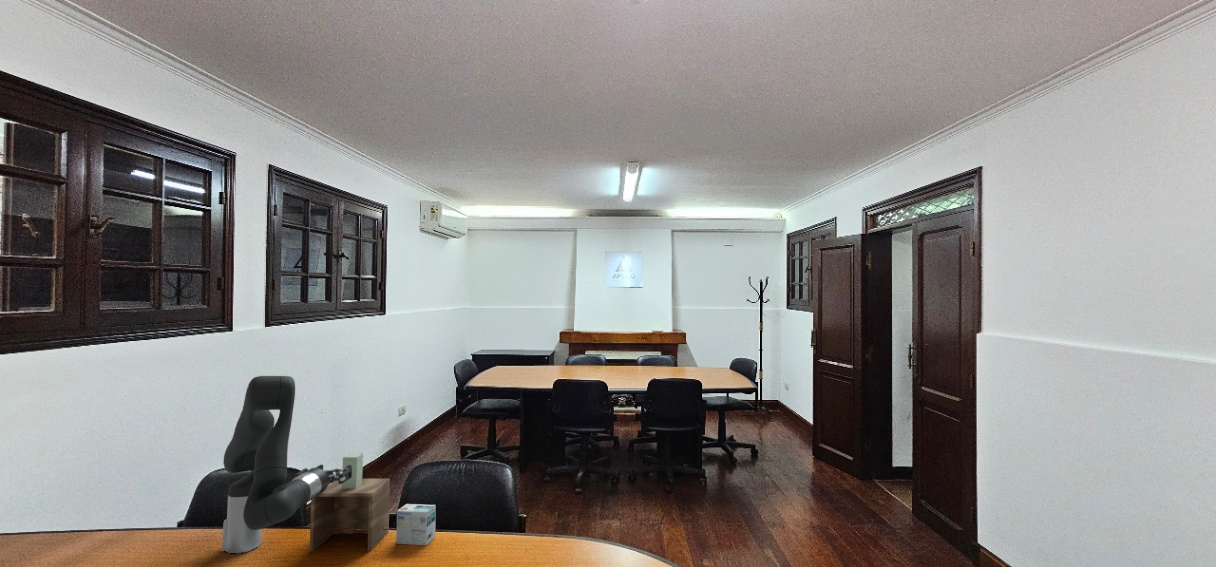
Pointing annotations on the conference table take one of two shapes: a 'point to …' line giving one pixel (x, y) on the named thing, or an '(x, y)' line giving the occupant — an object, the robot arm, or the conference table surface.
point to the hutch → (351, 512)
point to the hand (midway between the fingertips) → (336, 467)
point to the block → (353, 470)
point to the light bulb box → (415, 524)
